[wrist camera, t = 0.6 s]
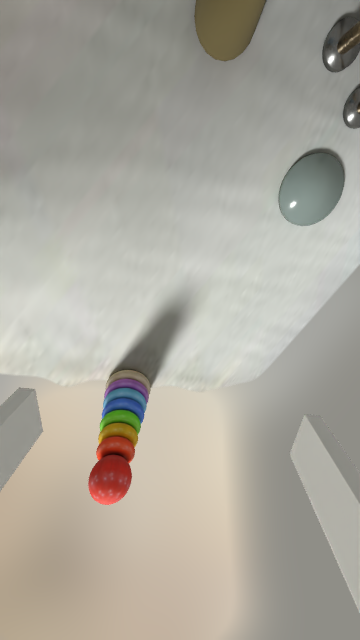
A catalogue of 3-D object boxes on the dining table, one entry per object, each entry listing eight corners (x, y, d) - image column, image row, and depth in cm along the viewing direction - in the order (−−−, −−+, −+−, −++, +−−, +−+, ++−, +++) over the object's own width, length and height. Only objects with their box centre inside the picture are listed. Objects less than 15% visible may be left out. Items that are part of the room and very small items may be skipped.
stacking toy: (150, 367, 41) (144, 481, 25) (151, 399, 45) (146, 516, 29) (104, 367, 41) (67, 486, 24) (109, 400, 44) (80, 521, 28)
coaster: (267, 187, 29) (269, 187, 29) (326, 136, 27) (329, 135, 27) (295, 237, 32) (297, 238, 32) (349, 196, 30) (353, 196, 30)
